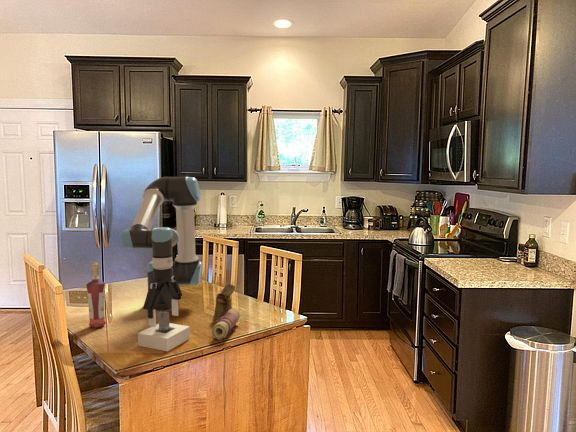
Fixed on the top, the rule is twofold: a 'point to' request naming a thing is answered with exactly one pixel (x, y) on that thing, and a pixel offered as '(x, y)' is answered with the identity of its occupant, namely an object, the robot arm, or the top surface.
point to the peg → (164, 322)
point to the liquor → (96, 299)
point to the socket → (164, 337)
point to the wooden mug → (223, 302)
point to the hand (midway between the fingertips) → (164, 320)
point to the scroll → (225, 324)
